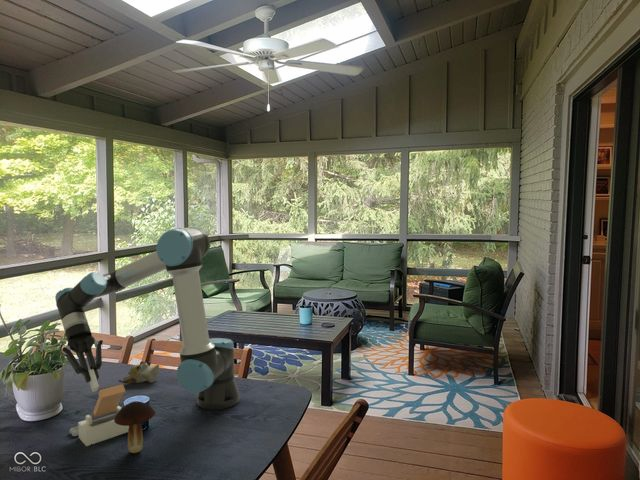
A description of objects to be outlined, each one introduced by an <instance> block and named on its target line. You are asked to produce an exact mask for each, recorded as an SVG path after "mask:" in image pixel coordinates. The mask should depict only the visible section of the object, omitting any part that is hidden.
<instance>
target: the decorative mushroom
mask: <svg viewBox="0 0 640 480" xmlns="http://www.w3.org/2000/svg"><path fill="white" fill-rule="evenodd" d="M121 408H122V409H121V410H120V411H119V412H118V413H117V415H116V417H115V420H114V422H115V423H116V424H118V425H122V426H129V429H128V432H127V449H128V451H129V452H130V453H131V454H137V453H140V452H141V451H142V449H143V448H144V437H143V436H144V435H143V427H142V423H143V422H147V421H149V420H151V419H153V417H154V416H155V414H156V412H155V410H154V409H153V408H154V407H152V406H151V405H149V404H147V403H146V402H143V401H138V400H137V401H136V400H135V401H131V402H129V403H127V404H125V405H124V406H122V407H121Z"/></svg>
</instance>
